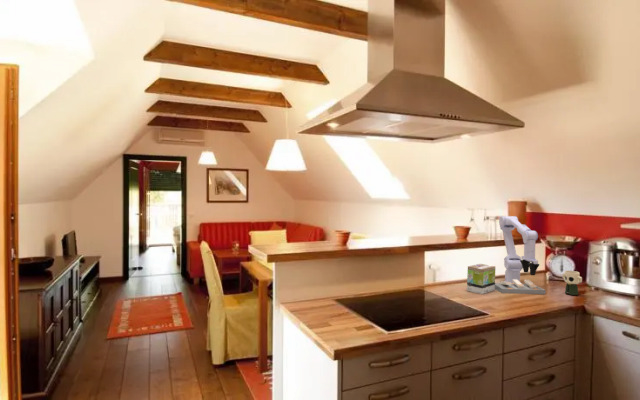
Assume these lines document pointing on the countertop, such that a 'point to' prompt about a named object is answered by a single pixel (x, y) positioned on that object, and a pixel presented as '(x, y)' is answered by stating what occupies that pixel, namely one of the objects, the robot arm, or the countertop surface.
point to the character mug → (572, 281)
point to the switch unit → (518, 289)
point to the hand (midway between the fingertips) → (529, 273)
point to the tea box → (481, 278)
